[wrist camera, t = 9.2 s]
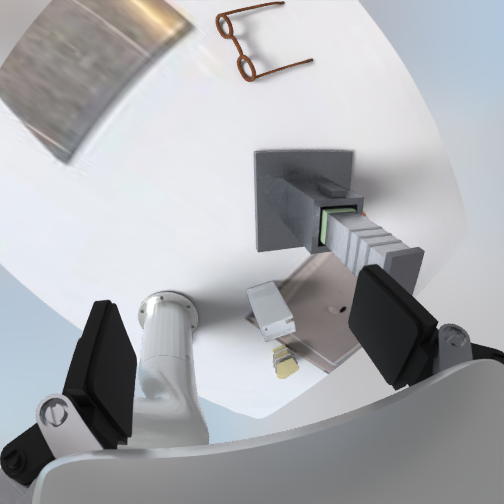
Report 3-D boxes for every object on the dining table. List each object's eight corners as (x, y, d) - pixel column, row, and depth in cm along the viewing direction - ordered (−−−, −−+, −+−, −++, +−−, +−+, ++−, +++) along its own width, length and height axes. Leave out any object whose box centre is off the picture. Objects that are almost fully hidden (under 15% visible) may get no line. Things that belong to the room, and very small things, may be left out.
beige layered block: (257, 349, 66) (263, 365, 61) (291, 334, 66) (299, 350, 61) (270, 370, 71) (275, 385, 66) (301, 356, 71) (308, 371, 66)
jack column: (331, 227, 46) (411, 299, 27) (306, 230, 45) (379, 308, 26) (334, 193, 43) (424, 251, 24) (307, 194, 42) (392, 257, 24)
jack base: (341, 238, 56) (377, 270, 44) (256, 248, 53) (276, 288, 41) (348, 150, 48) (393, 164, 36) (253, 151, 45) (277, 163, 33)
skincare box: (250, 304, 58) (264, 344, 48) (245, 287, 56) (258, 327, 46) (278, 295, 59) (297, 333, 48) (274, 278, 57) (293, 315, 46)
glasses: (212, 21, 33) (215, 11, 29) (282, 2, 33) (292, -8, 28) (245, 84, 39) (251, 80, 35) (312, 61, 39) (325, 57, 35)
